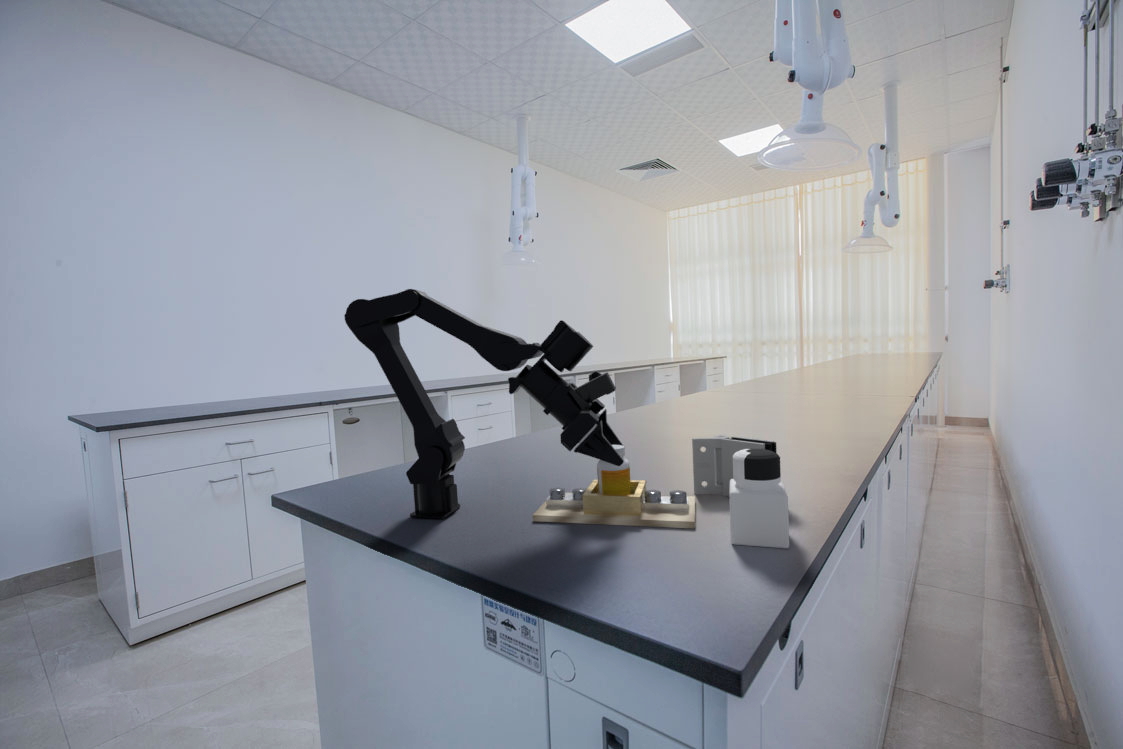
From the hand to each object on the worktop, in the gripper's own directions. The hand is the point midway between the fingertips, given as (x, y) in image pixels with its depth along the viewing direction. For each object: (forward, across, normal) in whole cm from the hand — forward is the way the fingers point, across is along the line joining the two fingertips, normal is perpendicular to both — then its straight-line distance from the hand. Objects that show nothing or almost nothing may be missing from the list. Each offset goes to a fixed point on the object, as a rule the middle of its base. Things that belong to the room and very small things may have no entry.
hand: (622, 457), depth 81 cm
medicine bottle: (+20, -10, -6) cm, 23 cm away
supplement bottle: (+5, 0, +7) cm, 8 cm away
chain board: (+5, 0, +7) cm, 9 cm away
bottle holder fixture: (+5, 0, +7) cm, 9 cm away
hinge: (+20, +8, -7) cm, 22 cm away
